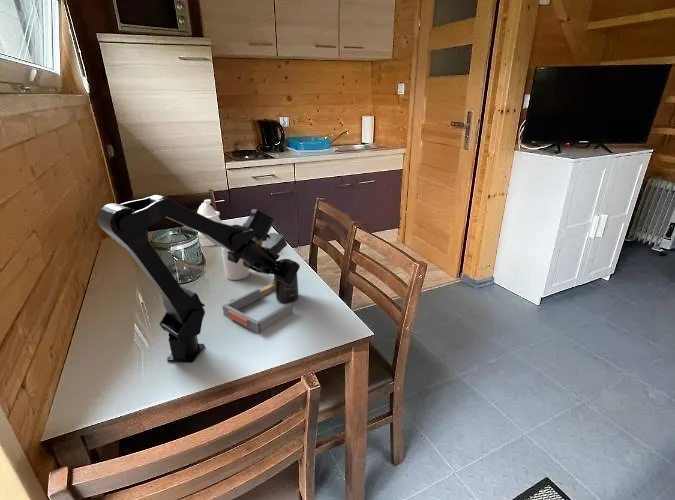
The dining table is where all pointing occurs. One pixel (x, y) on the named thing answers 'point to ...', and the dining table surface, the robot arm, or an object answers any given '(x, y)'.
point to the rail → (266, 289)
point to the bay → (256, 326)
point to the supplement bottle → (286, 289)
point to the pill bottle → (234, 267)
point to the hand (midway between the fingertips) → (287, 276)
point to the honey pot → (211, 214)
